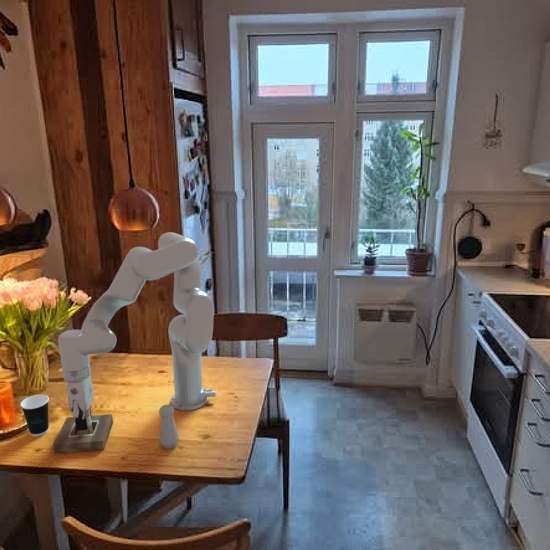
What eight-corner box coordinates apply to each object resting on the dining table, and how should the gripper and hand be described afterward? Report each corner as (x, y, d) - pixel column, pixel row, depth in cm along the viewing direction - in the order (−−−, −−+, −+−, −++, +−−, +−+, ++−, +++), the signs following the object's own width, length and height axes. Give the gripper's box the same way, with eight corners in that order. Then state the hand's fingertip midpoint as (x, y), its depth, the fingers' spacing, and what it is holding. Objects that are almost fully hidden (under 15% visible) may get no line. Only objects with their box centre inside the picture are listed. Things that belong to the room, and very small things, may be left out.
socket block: (113, 422, 154) (112, 413, 153) (104, 450, 141) (102, 440, 140) (68, 426, 153) (66, 417, 152) (54, 454, 139) (53, 444, 138)
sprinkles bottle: (94, 434, 146) (89, 396, 142) (79, 440, 144) (73, 400, 140) (91, 427, 150) (86, 389, 146) (76, 432, 147) (70, 393, 143)
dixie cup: (36, 442, 145) (31, 410, 141) (20, 435, 148) (14, 403, 145) (58, 429, 151) (54, 398, 148) (42, 422, 155) (37, 392, 152)
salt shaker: (170, 436, 147) (168, 399, 144) (183, 443, 144) (180, 406, 140) (155, 445, 143) (152, 407, 139) (167, 453, 140) (164, 414, 136)
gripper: (82, 384, 133) (90, 440, 138) (96, 357, 149) (102, 408, 154) (54, 386, 132) (63, 442, 137) (71, 359, 148) (78, 410, 153)
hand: (84, 424), depth 146 cm, fingers closed on sprinkles bottle, 4 cm apart
